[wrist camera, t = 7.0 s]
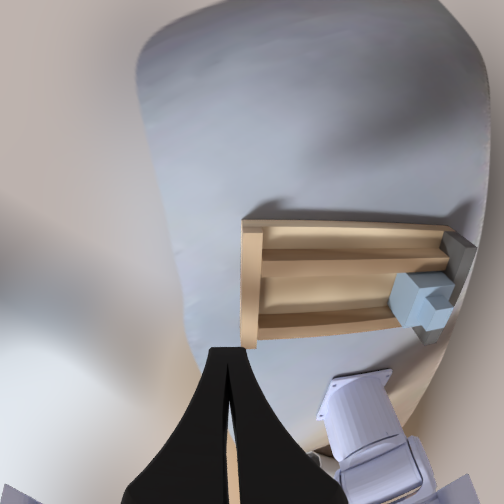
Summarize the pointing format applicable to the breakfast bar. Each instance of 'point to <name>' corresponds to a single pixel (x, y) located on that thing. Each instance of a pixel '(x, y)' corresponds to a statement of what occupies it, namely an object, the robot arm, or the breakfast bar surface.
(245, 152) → the breakfast bar surface
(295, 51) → the breakfast bar surface
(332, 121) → the breakfast bar surface
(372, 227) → the track
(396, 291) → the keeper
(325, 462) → the tube
